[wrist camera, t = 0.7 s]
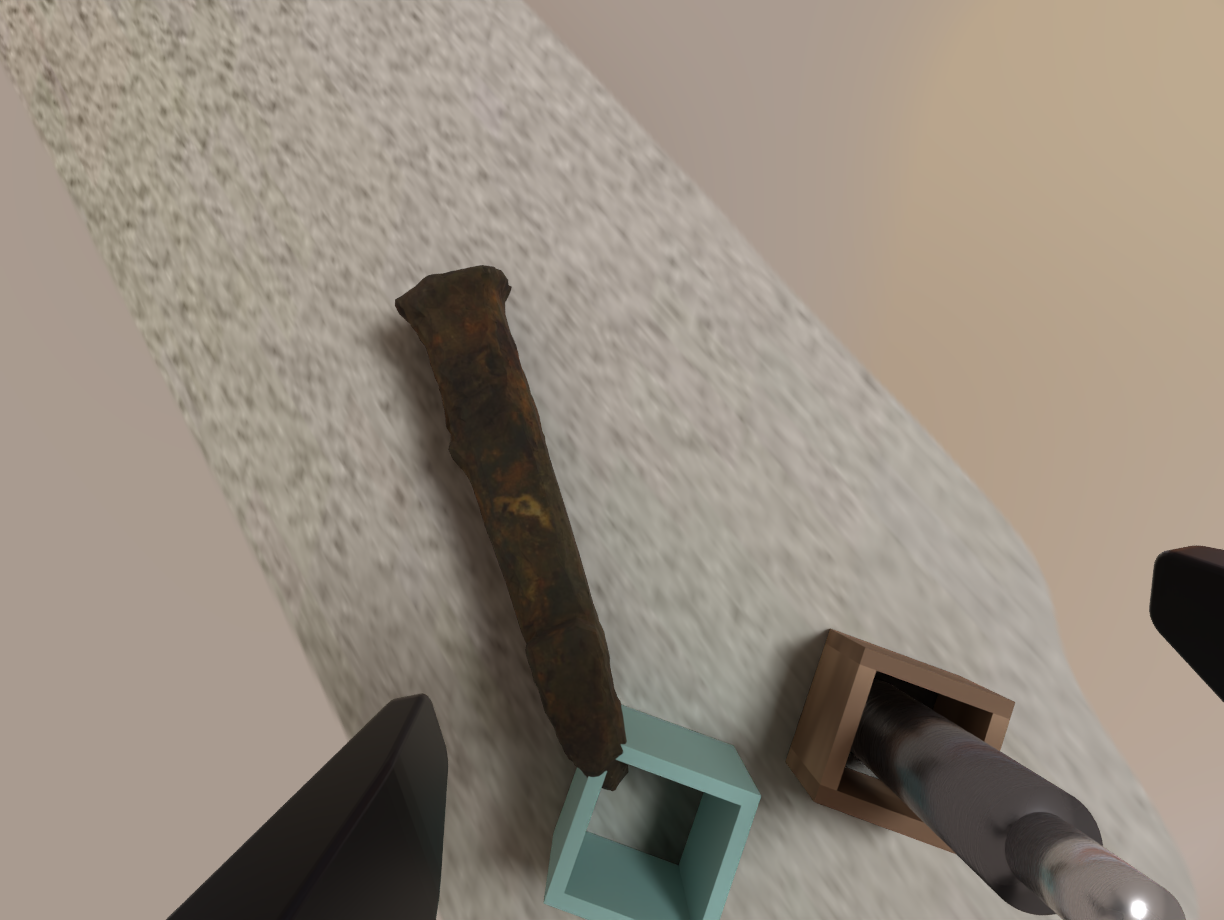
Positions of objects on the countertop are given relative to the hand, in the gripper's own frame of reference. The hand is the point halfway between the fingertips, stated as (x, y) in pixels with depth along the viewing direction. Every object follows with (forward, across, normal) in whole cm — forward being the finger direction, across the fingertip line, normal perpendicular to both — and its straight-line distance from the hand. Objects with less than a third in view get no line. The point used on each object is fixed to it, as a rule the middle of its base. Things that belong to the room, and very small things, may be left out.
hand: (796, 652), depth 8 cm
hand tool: (+18, +4, +5) cm, 19 cm away
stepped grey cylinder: (+14, -7, +14) cm, 21 cm away
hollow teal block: (+13, +3, +15) cm, 20 cm away
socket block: (+14, -7, +14) cm, 21 cm away
